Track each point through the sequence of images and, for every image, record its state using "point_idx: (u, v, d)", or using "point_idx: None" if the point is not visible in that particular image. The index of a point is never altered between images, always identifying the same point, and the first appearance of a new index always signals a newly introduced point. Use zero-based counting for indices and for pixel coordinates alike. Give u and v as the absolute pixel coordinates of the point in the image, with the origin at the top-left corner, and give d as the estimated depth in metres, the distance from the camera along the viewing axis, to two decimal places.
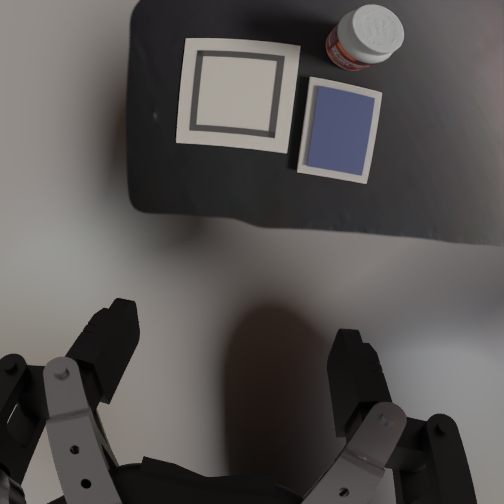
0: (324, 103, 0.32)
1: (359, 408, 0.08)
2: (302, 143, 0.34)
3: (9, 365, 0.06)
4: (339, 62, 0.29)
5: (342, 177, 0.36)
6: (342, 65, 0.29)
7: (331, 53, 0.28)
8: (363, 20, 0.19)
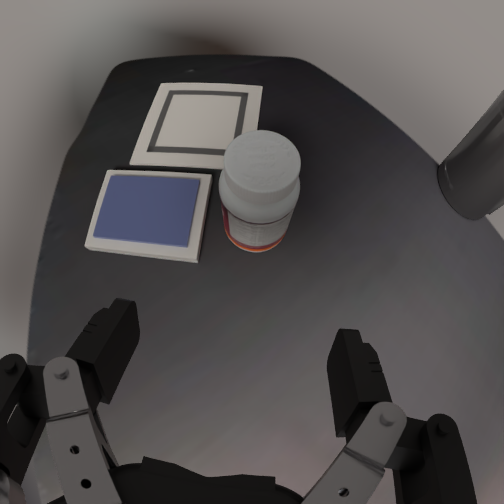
0: (177, 186, 0.29)
1: (359, 408, 0.08)
2: (136, 171, 0.30)
3: (9, 365, 0.06)
4: None
5: (94, 216, 0.29)
6: None
7: None
8: (268, 141, 0.20)
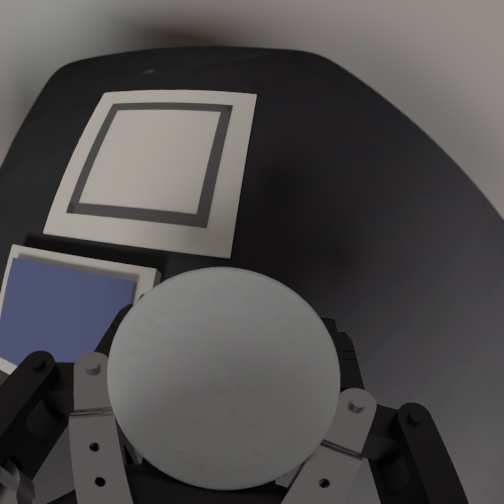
0: (98, 291, 0.16)
1: None
2: (45, 252, 0.17)
3: (37, 362, 0.07)
4: None
5: None
6: None
7: None
8: (242, 314, 0.06)
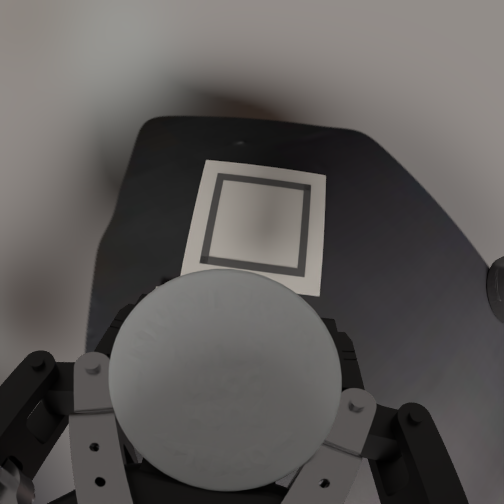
0: None
1: None
2: None
3: (36, 362, 0.07)
4: None
5: None
6: None
7: None
8: (244, 316, 0.06)
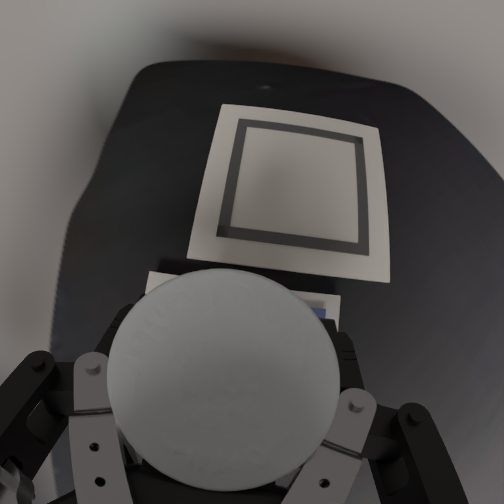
0: None
1: None
2: None
3: (36, 362, 0.07)
4: None
5: None
6: None
7: None
8: (242, 315, 0.06)
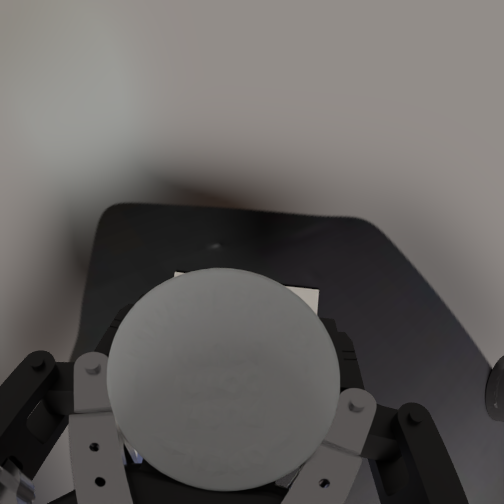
0: None
1: None
2: None
3: (37, 362, 0.07)
4: None
5: None
6: None
7: None
8: (242, 315, 0.06)
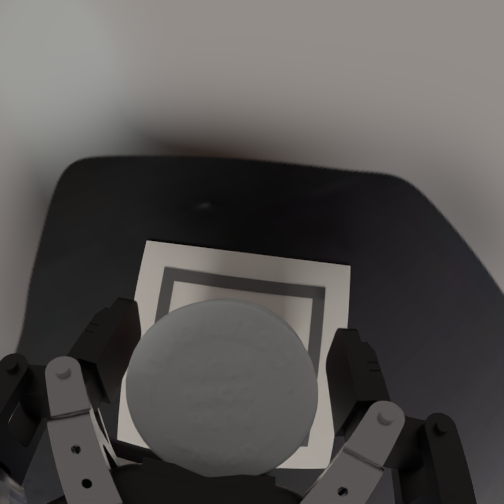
0: None
1: (357, 407, 0.08)
2: None
3: (10, 364, 0.06)
4: None
5: None
6: None
7: None
8: (235, 339, 0.07)
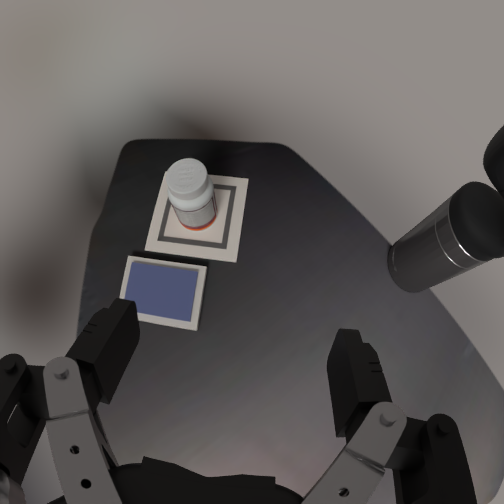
0: (182, 276, 0.42)
1: (359, 408, 0.08)
2: (150, 259, 0.43)
3: (9, 364, 0.06)
4: None
5: (122, 293, 0.41)
6: None
7: None
8: (190, 164, 0.36)
